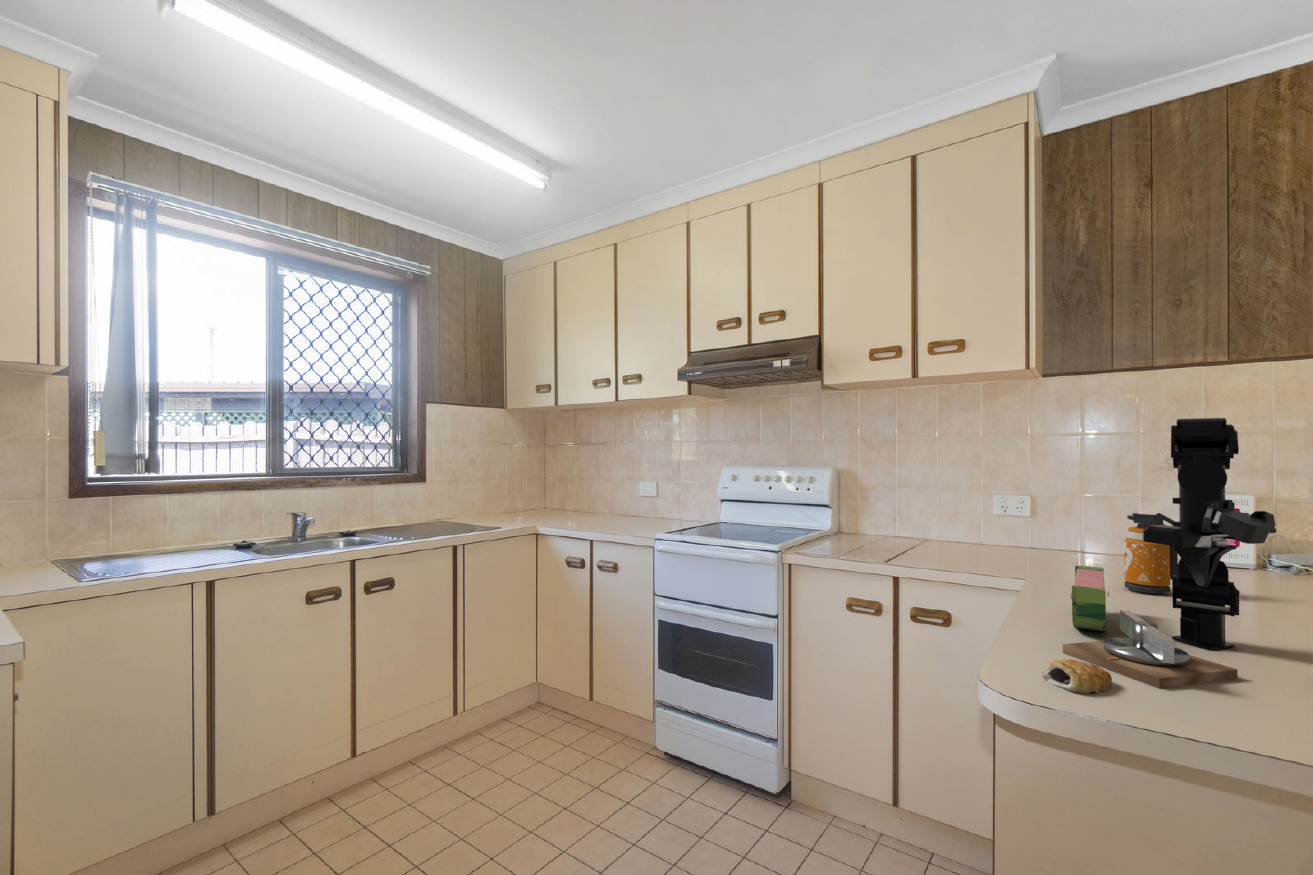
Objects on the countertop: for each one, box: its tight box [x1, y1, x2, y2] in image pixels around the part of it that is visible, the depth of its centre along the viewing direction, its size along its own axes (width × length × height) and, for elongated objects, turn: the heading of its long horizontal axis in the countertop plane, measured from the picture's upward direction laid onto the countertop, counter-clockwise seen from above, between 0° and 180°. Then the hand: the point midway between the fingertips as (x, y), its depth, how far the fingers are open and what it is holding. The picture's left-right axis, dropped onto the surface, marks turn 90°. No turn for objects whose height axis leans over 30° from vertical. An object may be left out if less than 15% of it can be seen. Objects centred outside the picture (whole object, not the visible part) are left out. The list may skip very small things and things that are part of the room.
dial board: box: [1062, 639, 1239, 689], centre depth 99 cm, size 16×16×2 cm
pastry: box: [1041, 658, 1113, 694], centre depth 91 cm, size 9×7×4 cm
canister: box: [1123, 512, 1179, 596], centre depth 150 cm, size 9×11×20 cm
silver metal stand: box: [1104, 609, 1190, 666], centre depth 99 cm, size 11×16×5 cm
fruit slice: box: [1070, 565, 1110, 632], centre depth 122 cm, size 26×6×10 cm, turn 144°
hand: (1202, 586), depth 100 cm, fingers closed
